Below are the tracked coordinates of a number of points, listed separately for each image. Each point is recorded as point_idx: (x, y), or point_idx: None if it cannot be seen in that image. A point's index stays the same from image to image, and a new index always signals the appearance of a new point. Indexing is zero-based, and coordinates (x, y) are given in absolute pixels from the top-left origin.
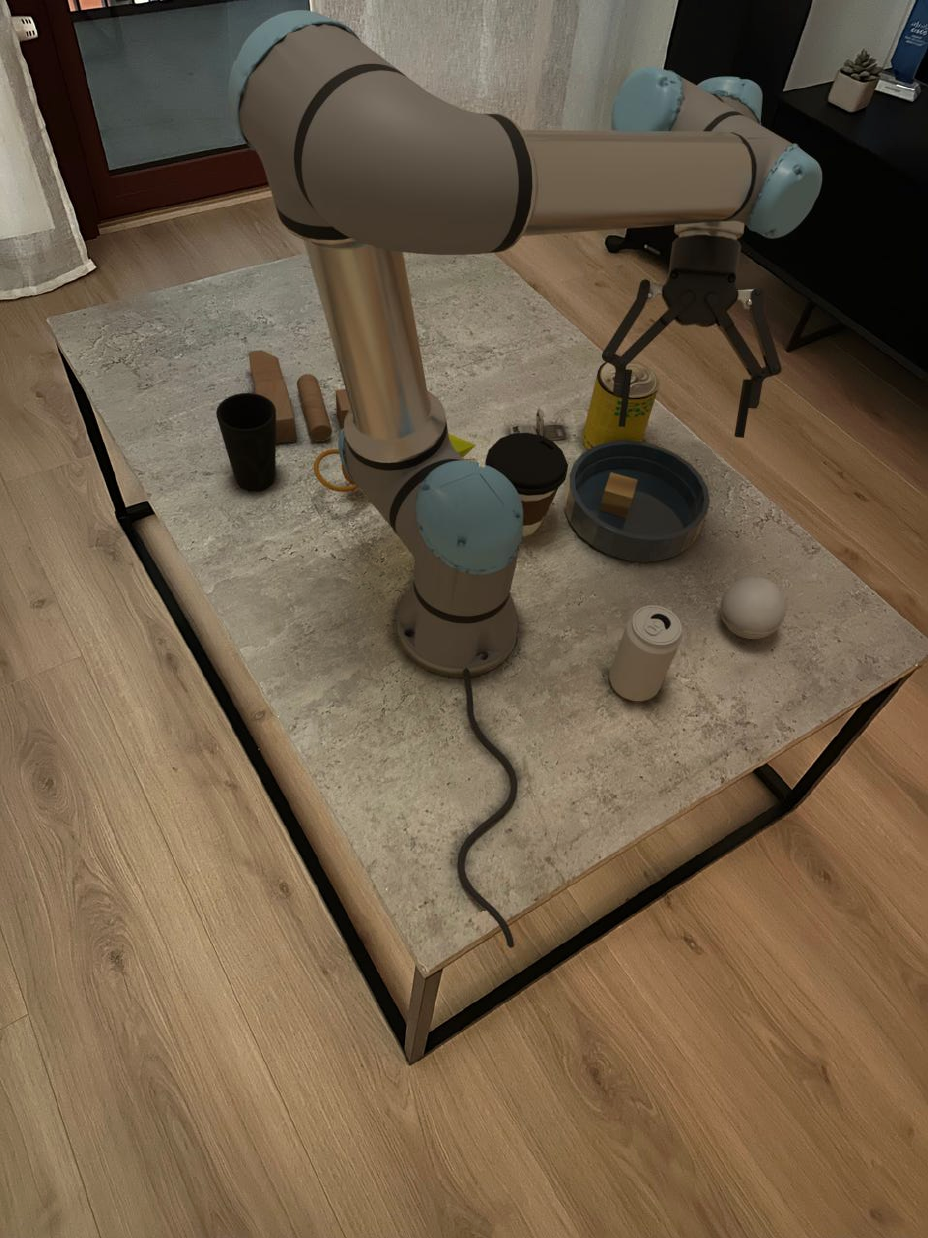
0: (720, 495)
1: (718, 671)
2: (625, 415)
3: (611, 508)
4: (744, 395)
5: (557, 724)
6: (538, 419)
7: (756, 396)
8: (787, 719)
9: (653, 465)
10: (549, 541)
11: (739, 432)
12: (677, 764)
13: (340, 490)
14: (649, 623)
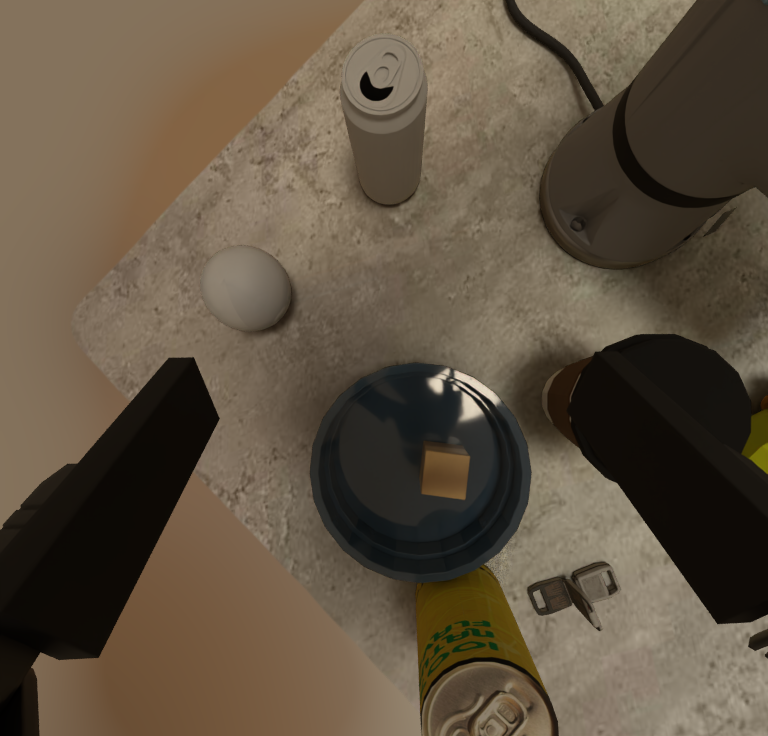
0: (297, 523)
1: (293, 224)
2: (625, 375)
3: (448, 445)
4: (84, 498)
5: (470, 96)
6: (589, 609)
7: (27, 518)
8: (217, 180)
9: (395, 548)
10: (520, 374)
11: (179, 367)
12: (333, 86)
13: None
14: (394, 72)
